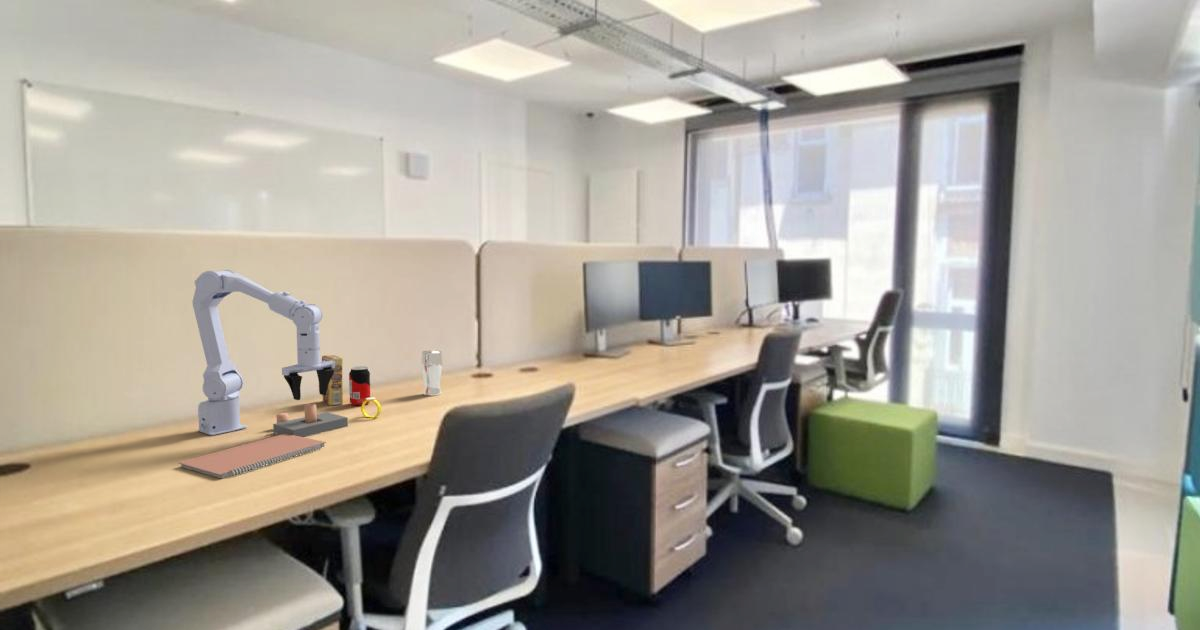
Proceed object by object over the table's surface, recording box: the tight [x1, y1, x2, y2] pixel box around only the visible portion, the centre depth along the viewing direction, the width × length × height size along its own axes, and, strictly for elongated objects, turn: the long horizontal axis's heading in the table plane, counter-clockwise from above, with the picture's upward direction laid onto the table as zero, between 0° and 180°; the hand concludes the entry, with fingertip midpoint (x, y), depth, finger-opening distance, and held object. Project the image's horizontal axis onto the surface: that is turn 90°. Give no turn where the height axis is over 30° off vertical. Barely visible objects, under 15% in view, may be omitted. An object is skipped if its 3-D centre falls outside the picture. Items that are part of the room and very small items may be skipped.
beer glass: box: [421, 349, 443, 397], centre depth 222 cm, size 7×7×15 cm
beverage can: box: [348, 366, 371, 406], centre depth 207 cm, size 6×6×12 cm
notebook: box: [178, 433, 327, 479], centre depth 154 cm, size 27×17×2 cm, turn 152°
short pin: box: [276, 412, 290, 423], centre depth 178 cm, size 3×3×4 cm
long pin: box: [304, 403, 318, 424], centre depth 177 cm, size 3×3×7 cm
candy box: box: [321, 354, 344, 406], centre depth 209 cm, size 9×4×15 cm, turn 39°
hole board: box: [272, 411, 349, 438], centre depth 178 cm, size 16×10×2 cm, turn 145°
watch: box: [360, 396, 382, 419], centre depth 191 cm, size 6×3×6 cm, turn 76°
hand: (310, 397), depth 177 cm, fingers open, 7 cm apart
